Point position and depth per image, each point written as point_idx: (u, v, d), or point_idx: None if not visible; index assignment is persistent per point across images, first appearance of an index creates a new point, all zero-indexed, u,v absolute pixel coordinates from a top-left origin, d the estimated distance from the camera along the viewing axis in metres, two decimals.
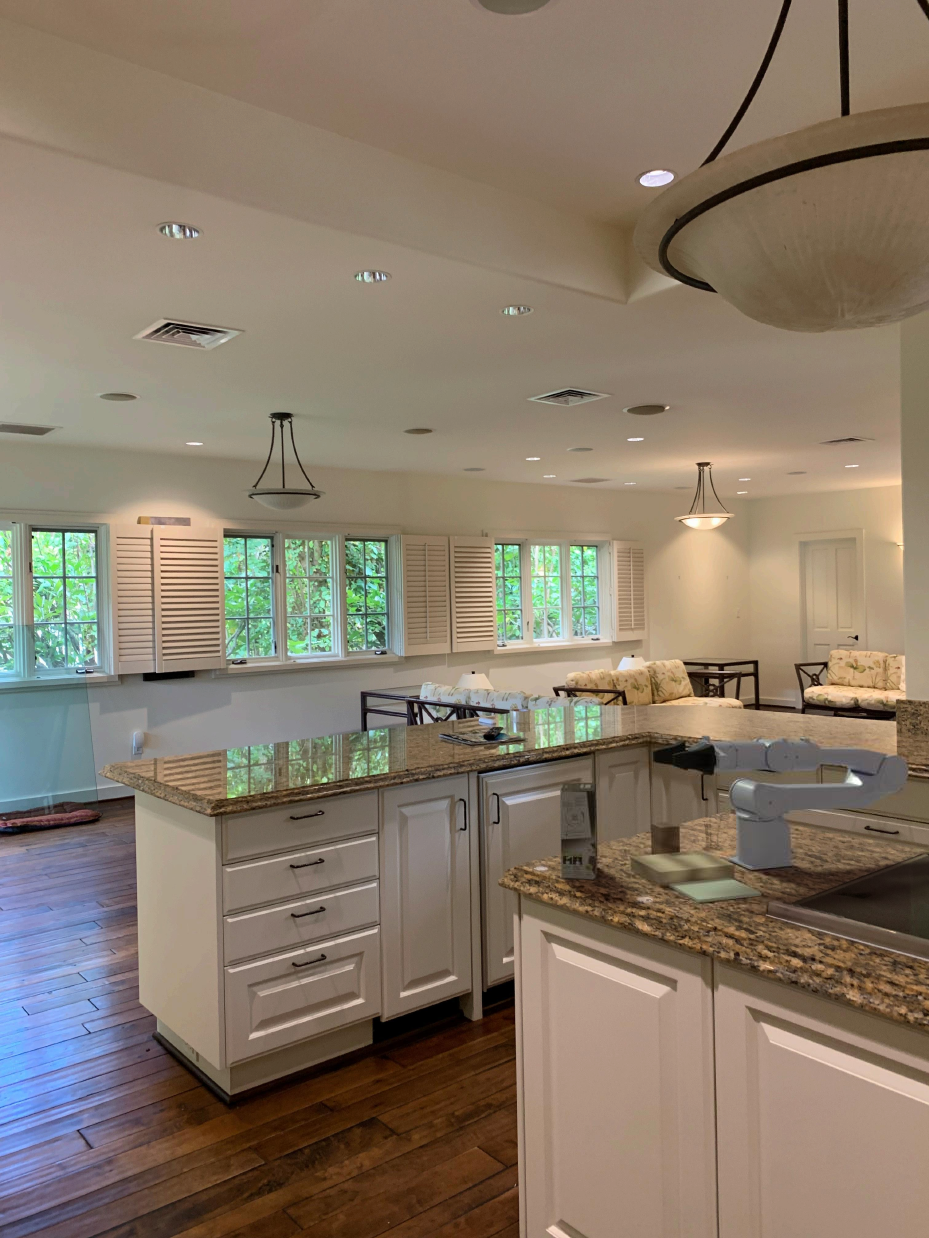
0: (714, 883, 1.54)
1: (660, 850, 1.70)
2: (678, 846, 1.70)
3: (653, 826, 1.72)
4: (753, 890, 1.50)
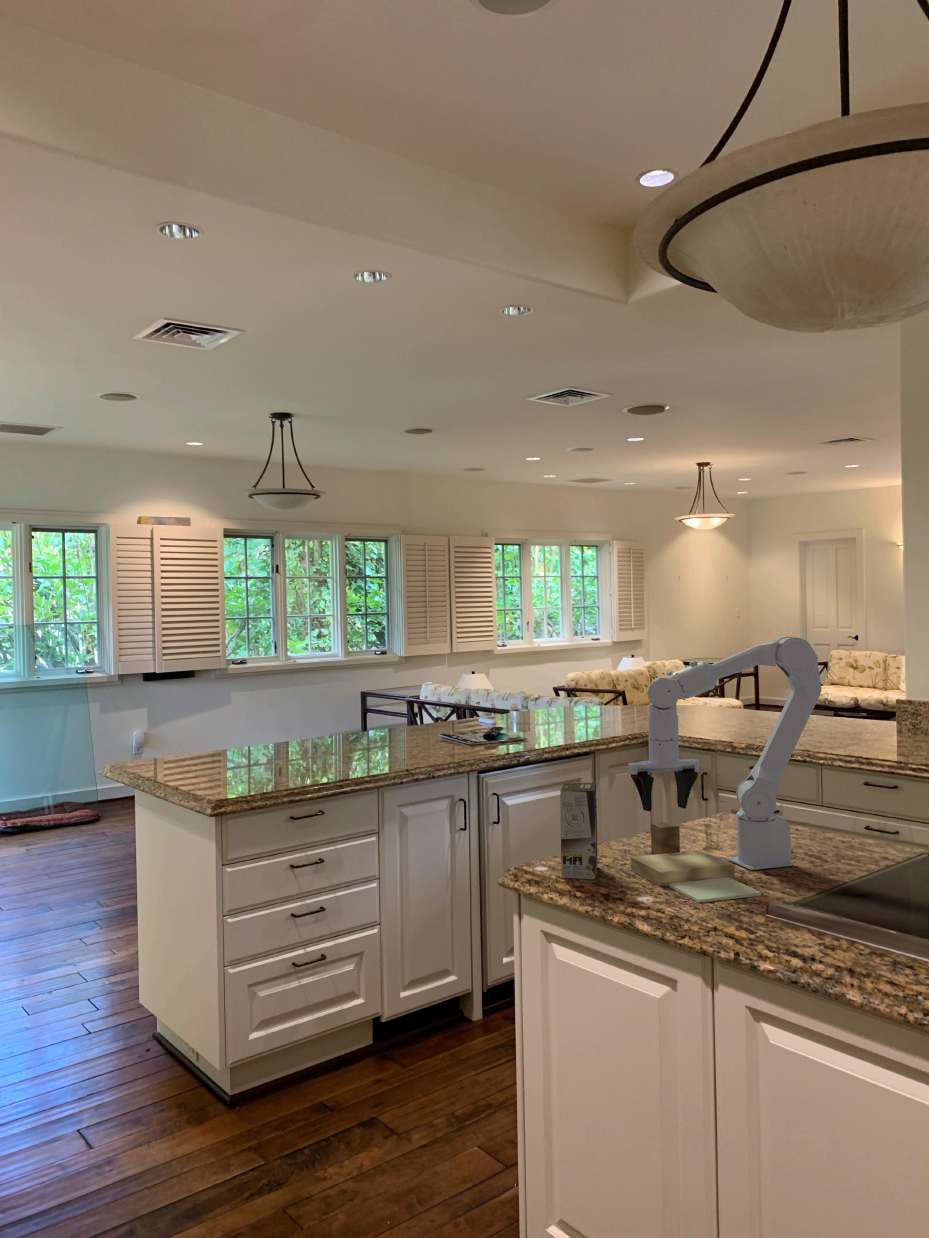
0: (714, 883, 1.54)
1: (660, 850, 1.70)
2: (678, 846, 1.70)
3: (653, 826, 1.72)
4: (753, 890, 1.50)
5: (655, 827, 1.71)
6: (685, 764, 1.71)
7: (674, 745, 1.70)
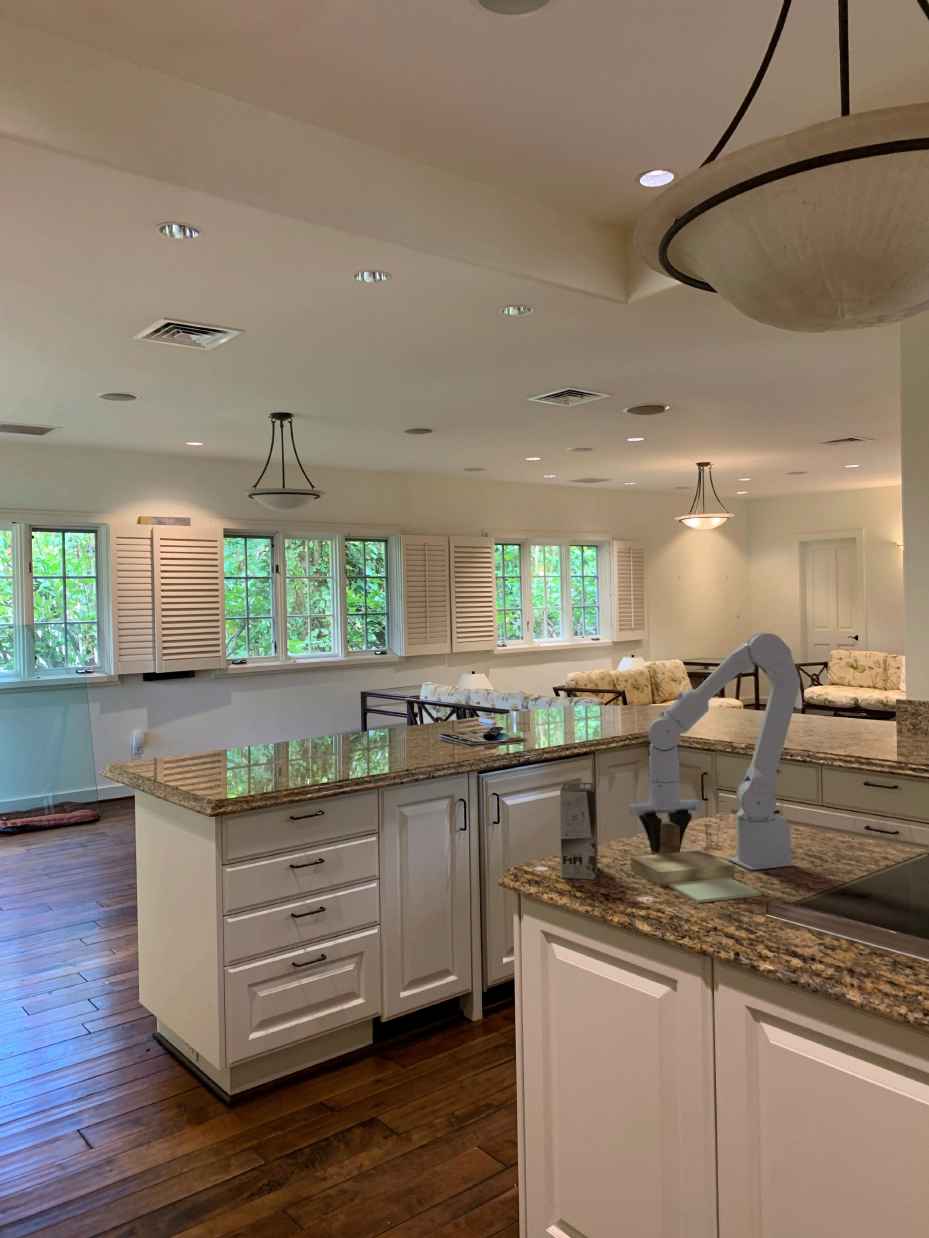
0: (714, 883, 1.54)
1: (660, 850, 1.70)
2: (678, 846, 1.70)
3: None
4: (753, 890, 1.50)
5: None
6: (686, 805, 1.71)
7: (675, 787, 1.70)
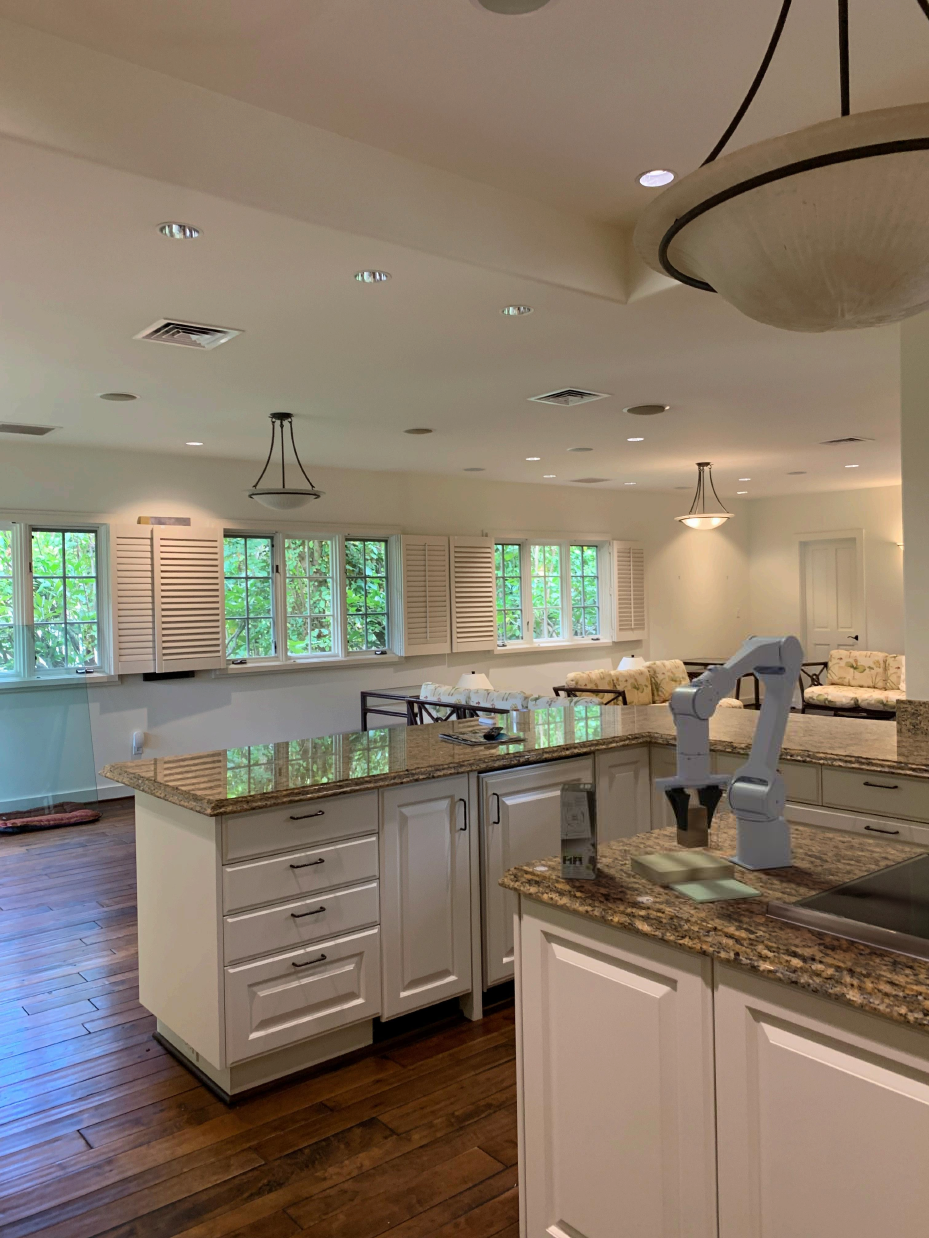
0: (714, 883, 1.54)
1: (686, 833, 1.57)
2: (706, 829, 1.57)
3: None
4: (753, 890, 1.50)
5: None
6: (717, 780, 1.57)
7: (705, 760, 1.56)
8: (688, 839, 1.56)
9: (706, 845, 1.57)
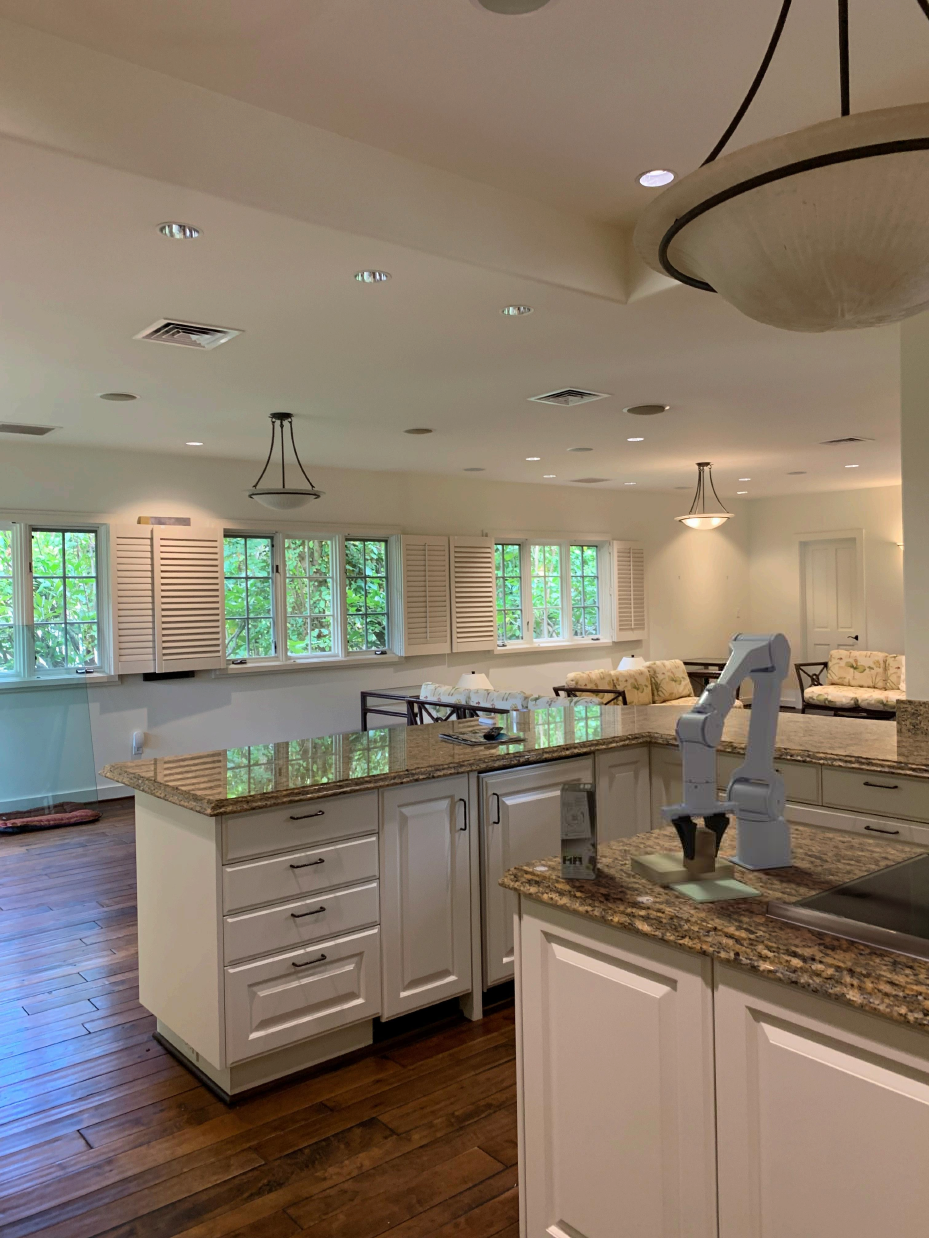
0: (714, 883, 1.54)
1: (694, 859, 1.54)
2: (713, 855, 1.55)
3: None
4: (753, 890, 1.50)
5: None
6: (724, 808, 1.55)
7: (712, 788, 1.53)
8: (695, 865, 1.54)
9: (712, 871, 1.55)
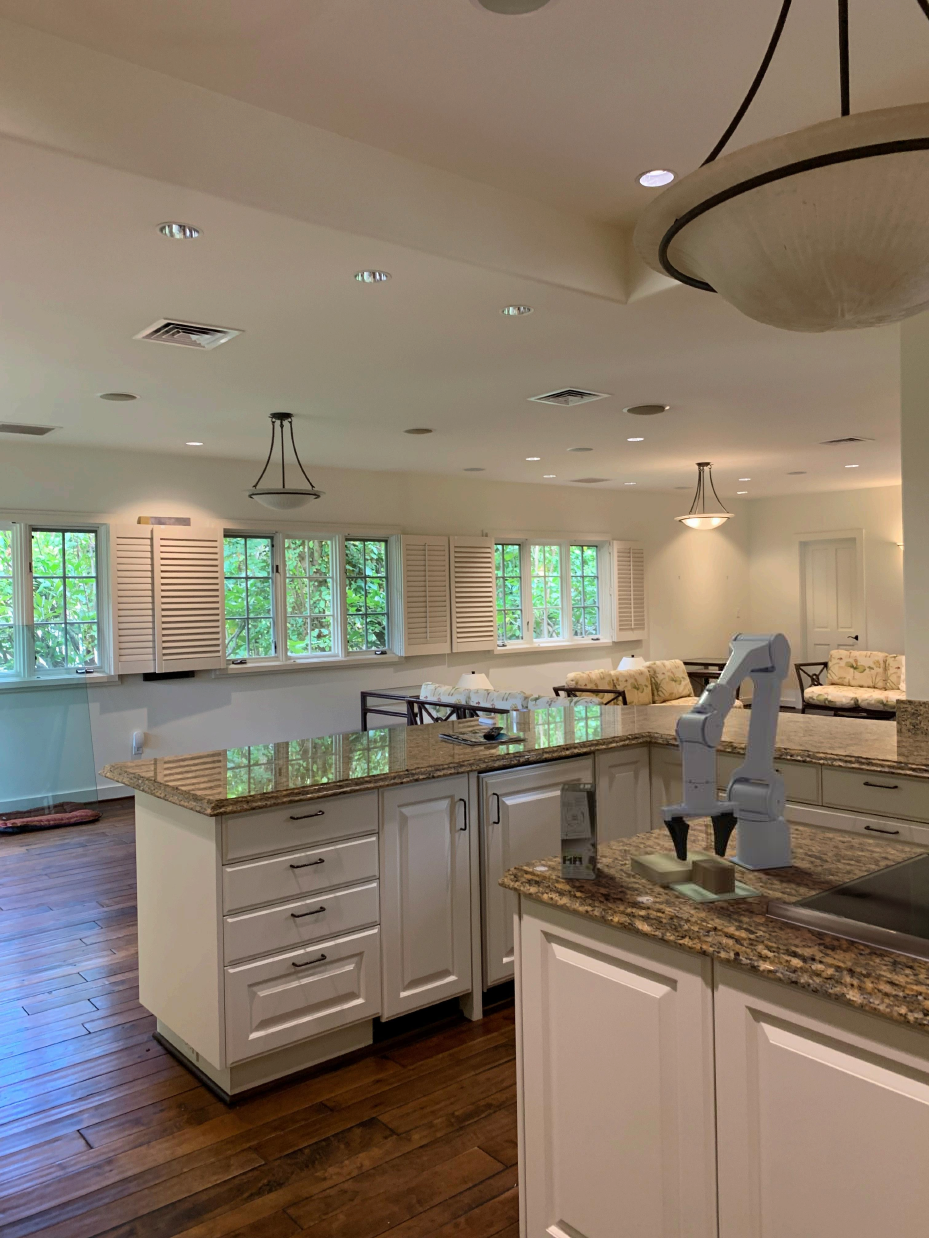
0: None
1: (700, 885, 1.52)
2: None
3: (712, 876, 1.48)
4: (753, 890, 1.50)
5: (712, 881, 1.48)
6: (724, 808, 1.55)
7: (712, 788, 1.53)
8: (697, 885, 1.53)
9: None
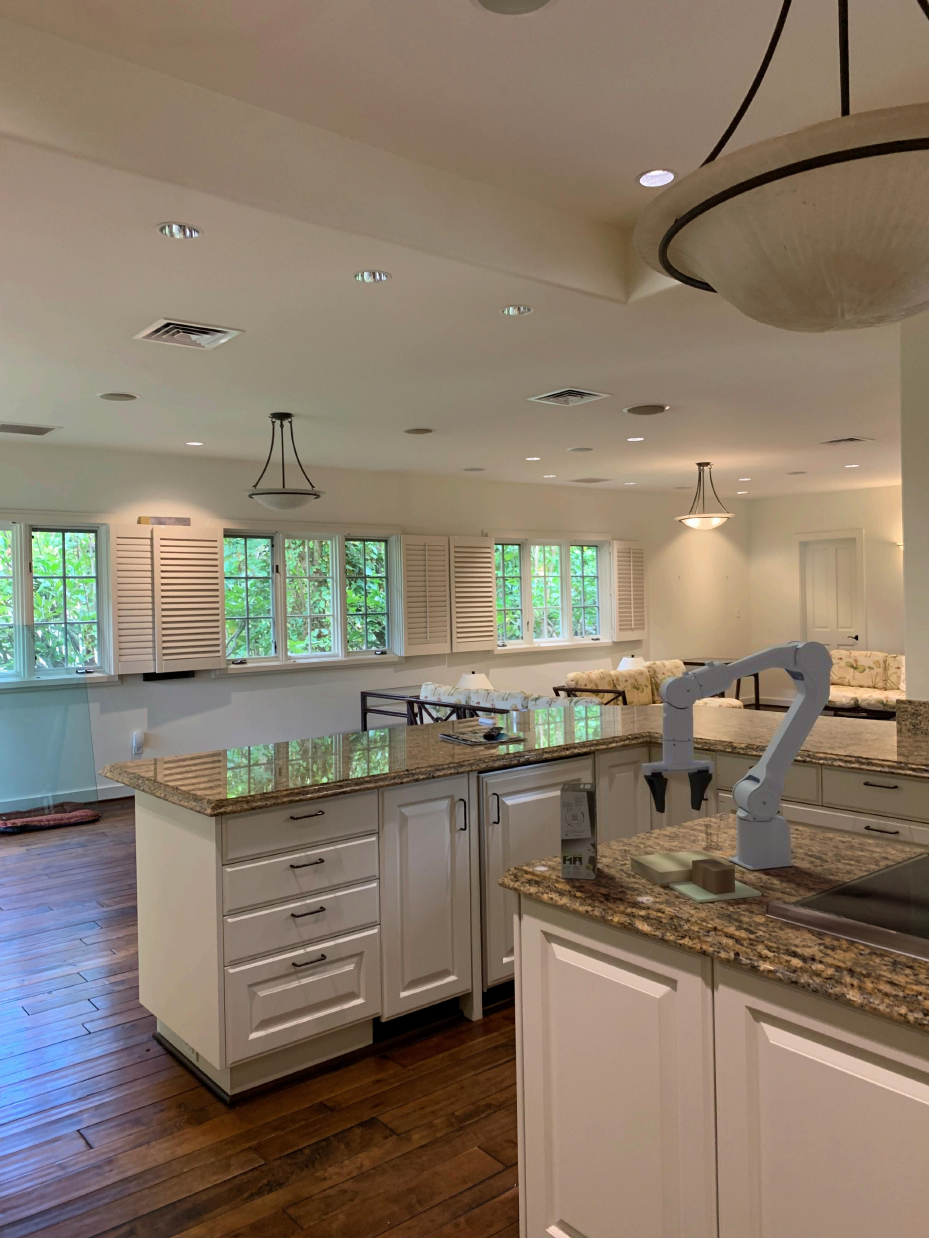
0: None
1: (700, 885, 1.52)
2: None
3: (712, 876, 1.48)
4: (753, 890, 1.50)
5: (712, 881, 1.48)
6: (700, 765, 1.67)
7: (689, 746, 1.66)
8: (697, 885, 1.53)
9: None
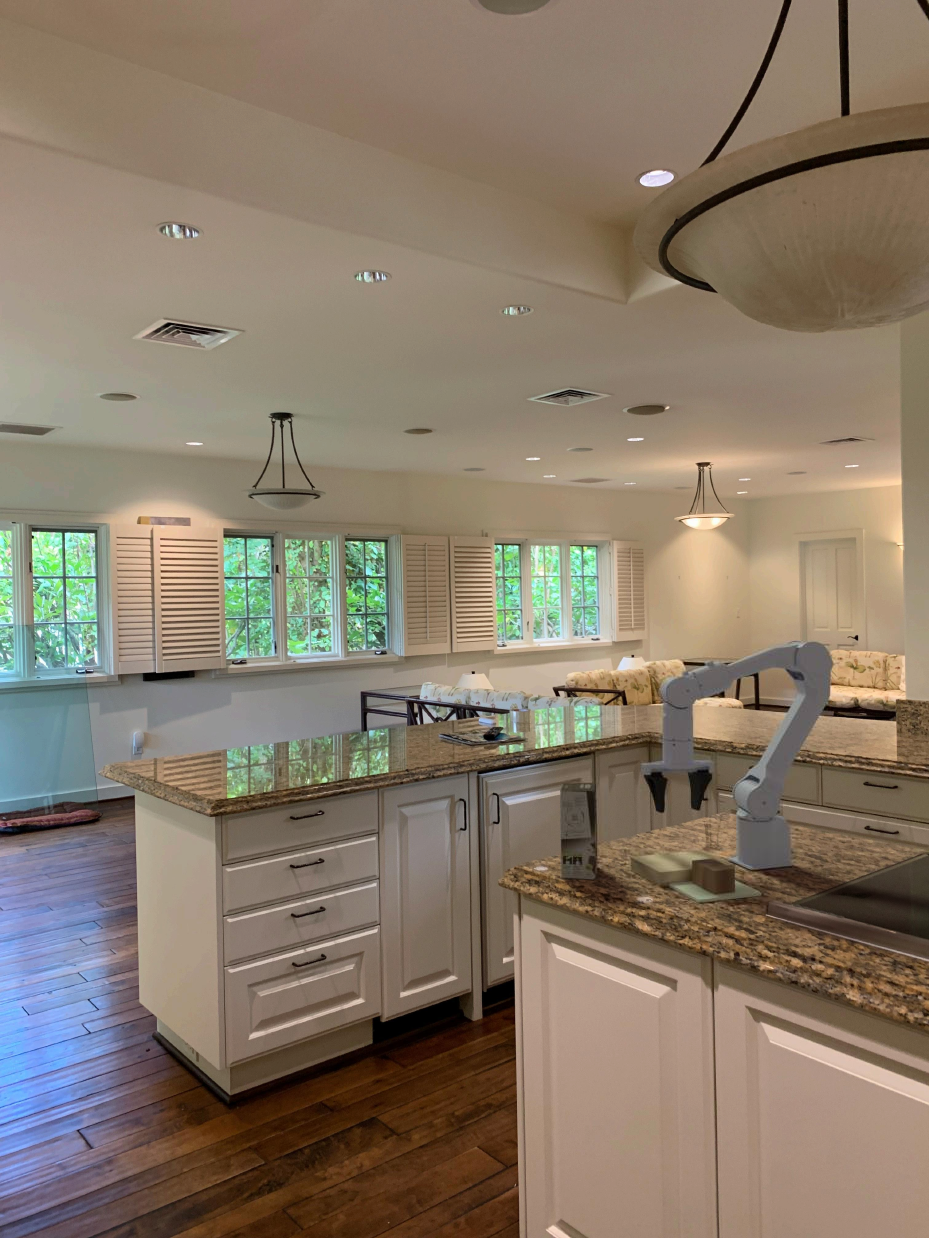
0: None
1: (700, 885, 1.52)
2: None
3: (712, 876, 1.48)
4: (753, 890, 1.50)
5: (712, 881, 1.48)
6: (699, 765, 1.68)
7: (689, 745, 1.66)
8: (697, 885, 1.53)
9: None
